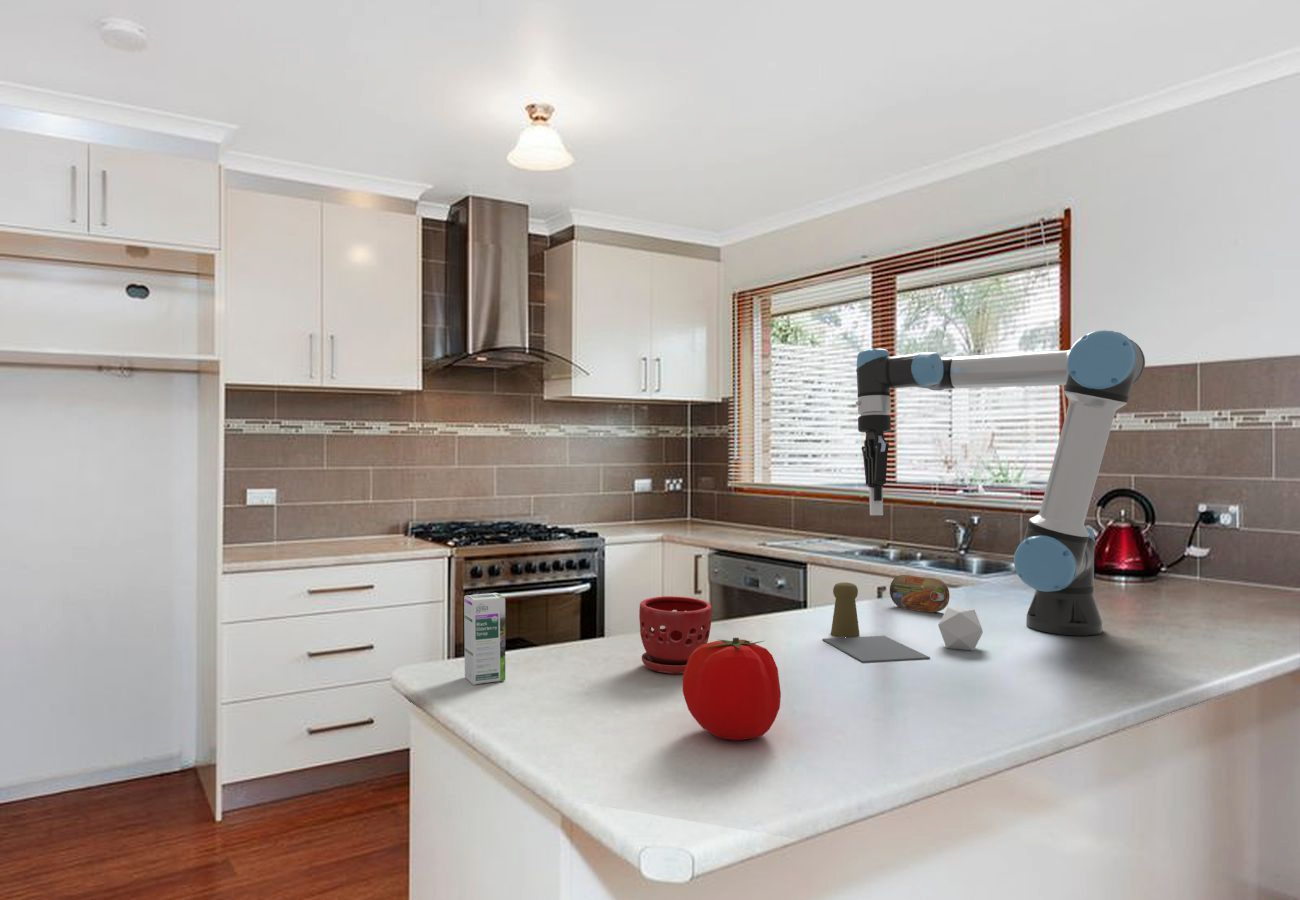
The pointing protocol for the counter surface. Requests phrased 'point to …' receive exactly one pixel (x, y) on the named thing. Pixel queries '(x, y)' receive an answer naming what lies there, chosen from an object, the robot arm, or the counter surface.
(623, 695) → the counter surface
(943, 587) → the tin
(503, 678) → the syrup box
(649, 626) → the plant pot
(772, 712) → the tomato
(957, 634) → the die
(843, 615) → the cork
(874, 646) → the mat
